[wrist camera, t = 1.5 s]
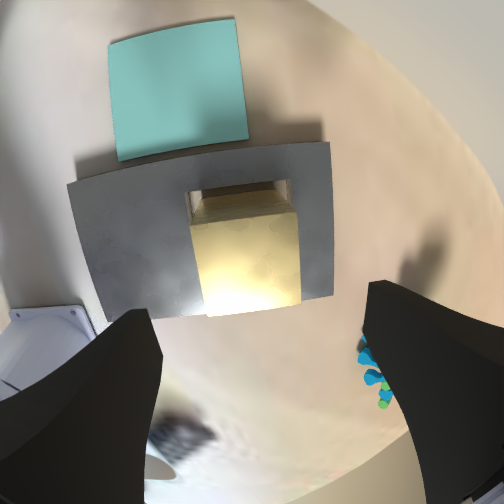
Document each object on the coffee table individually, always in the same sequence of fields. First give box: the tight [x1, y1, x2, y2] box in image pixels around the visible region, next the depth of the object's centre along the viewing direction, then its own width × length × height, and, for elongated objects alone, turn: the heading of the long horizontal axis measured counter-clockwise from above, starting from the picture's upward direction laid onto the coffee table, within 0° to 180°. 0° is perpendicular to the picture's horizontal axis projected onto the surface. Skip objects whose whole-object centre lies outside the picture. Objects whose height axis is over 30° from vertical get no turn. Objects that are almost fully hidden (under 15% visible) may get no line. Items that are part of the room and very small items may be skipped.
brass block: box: [190, 189, 301, 316], centre depth 15 cm, size 4×4×6 cm
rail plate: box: [67, 142, 334, 322], centre depth 17 cm, size 16×10×1 cm, turn 96°
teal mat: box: [108, 19, 249, 162], centre depth 14 cm, size 8×8×1 cm
